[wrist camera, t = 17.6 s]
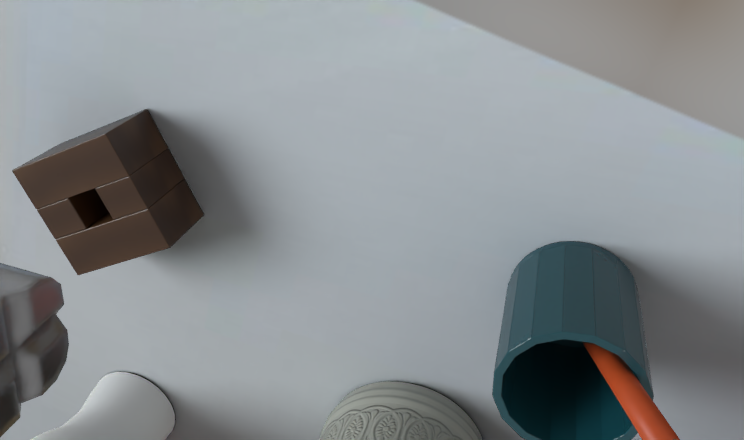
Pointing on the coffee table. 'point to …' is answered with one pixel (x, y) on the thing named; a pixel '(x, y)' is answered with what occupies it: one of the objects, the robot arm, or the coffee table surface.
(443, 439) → the jar
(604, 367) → the orange thin rod
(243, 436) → the coffee table surface
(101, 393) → the cup
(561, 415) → the teal cup
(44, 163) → the brown wooden square block
